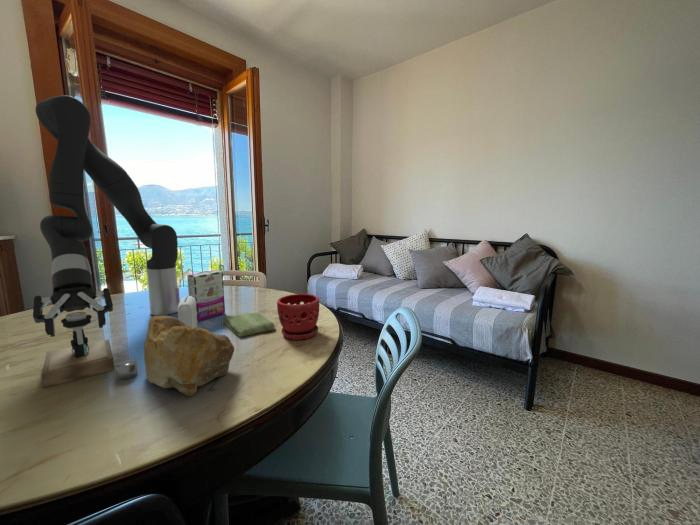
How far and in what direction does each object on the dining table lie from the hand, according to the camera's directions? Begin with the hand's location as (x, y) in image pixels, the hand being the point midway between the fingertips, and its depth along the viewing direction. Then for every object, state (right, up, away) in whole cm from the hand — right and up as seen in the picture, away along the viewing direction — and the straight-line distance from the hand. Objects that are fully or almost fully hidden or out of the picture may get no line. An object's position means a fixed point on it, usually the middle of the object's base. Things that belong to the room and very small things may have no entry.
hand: (77, 330), depth 71 cm
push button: (-1, -6, +2) cm, 7 cm away
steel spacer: (+13, -10, -2) cm, 16 cm away
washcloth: (+30, -6, +31) cm, 44 cm away
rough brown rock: (+29, -11, -2) cm, 31 cm away
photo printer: (+15, -7, +21) cm, 27 cm away
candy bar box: (+12, -4, +39) cm, 41 cm away
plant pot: (+48, -7, +25) cm, 55 cm away
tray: (-1, -9, +2) cm, 9 cm away
